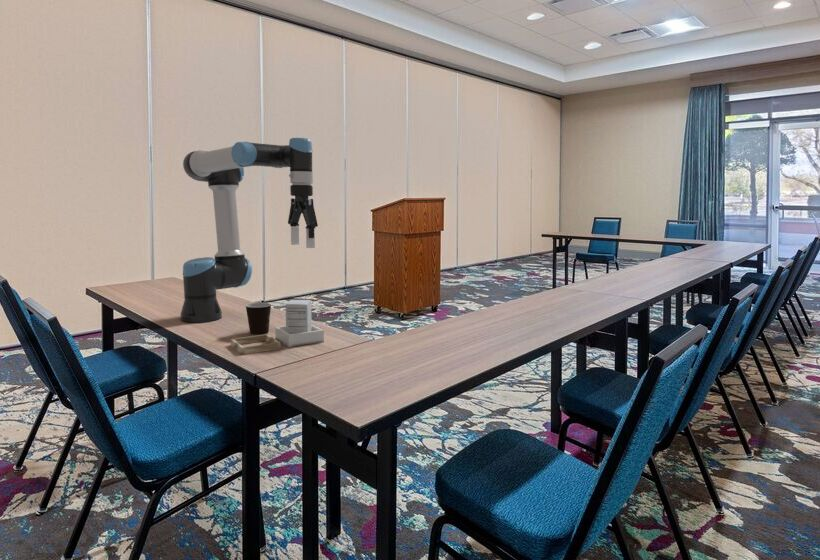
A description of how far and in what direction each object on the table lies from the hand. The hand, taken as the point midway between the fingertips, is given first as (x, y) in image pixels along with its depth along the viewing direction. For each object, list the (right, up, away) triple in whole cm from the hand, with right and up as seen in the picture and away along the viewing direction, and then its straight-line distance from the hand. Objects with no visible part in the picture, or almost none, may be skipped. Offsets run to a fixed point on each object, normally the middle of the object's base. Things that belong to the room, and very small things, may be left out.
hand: (302, 246), depth 188 cm
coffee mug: (-16, -30, +4) cm, 34 cm away
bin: (0, -32, -7) cm, 33 cm away
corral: (-12, -33, -15) cm, 38 cm away
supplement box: (0, -32, -7) cm, 32 cm away
